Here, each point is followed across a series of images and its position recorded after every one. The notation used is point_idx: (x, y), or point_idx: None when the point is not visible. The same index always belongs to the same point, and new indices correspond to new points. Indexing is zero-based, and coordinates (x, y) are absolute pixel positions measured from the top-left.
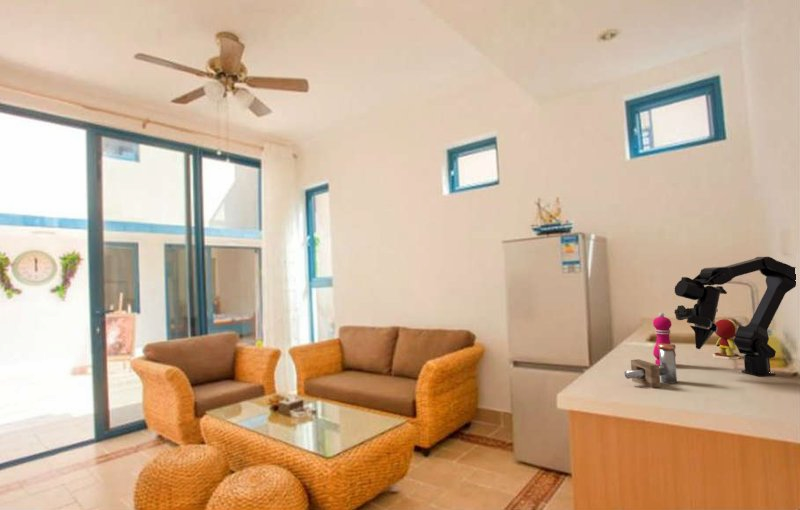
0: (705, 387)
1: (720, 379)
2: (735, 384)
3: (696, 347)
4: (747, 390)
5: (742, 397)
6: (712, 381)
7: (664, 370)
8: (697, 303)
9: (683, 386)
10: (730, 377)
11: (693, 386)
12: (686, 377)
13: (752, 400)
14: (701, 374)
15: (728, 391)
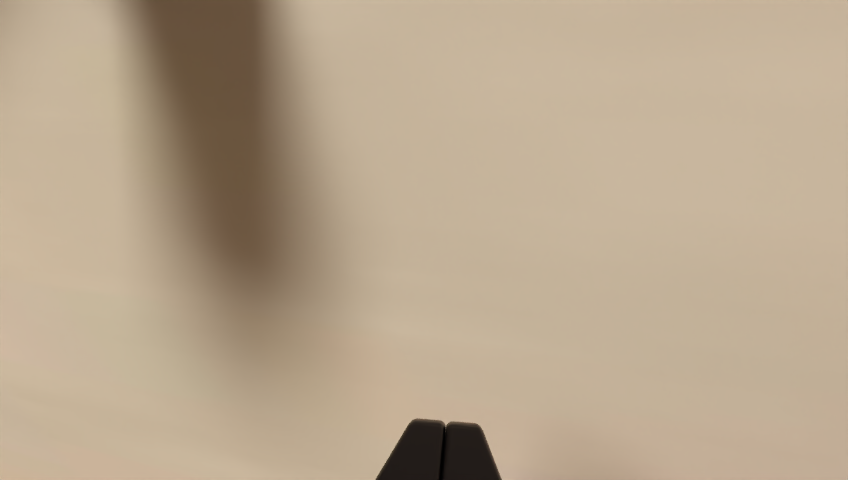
0: (163, 202)
1: (582, 366)
2: None
3: (408, 439)
4: (263, 475)
5: (58, 403)
6: (443, 282)
7: None
8: None
9: (71, 6)
10: (738, 473)
11: (132, 100)
12: (520, 7)
13: (33, 438)
14: (814, 196)
15: (151, 352)
